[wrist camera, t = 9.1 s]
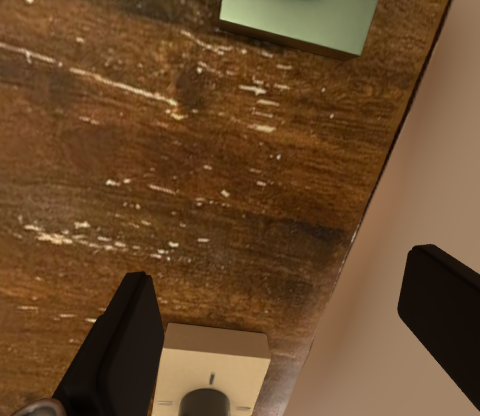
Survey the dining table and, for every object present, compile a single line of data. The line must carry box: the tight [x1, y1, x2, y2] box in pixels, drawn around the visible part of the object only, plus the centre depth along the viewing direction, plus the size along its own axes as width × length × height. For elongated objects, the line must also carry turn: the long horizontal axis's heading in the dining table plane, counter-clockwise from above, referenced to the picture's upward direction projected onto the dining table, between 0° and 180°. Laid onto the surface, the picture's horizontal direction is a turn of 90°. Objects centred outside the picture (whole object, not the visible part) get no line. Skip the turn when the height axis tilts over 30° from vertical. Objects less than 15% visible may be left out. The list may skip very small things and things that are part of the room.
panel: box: [152, 323, 271, 416], centre depth 27 cm, size 14×10×3 cm
